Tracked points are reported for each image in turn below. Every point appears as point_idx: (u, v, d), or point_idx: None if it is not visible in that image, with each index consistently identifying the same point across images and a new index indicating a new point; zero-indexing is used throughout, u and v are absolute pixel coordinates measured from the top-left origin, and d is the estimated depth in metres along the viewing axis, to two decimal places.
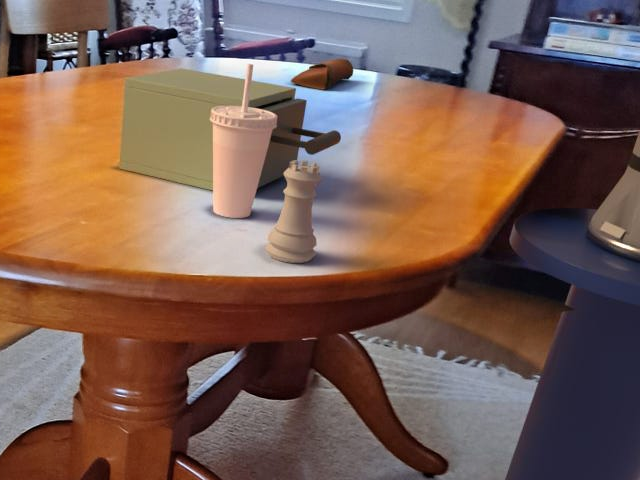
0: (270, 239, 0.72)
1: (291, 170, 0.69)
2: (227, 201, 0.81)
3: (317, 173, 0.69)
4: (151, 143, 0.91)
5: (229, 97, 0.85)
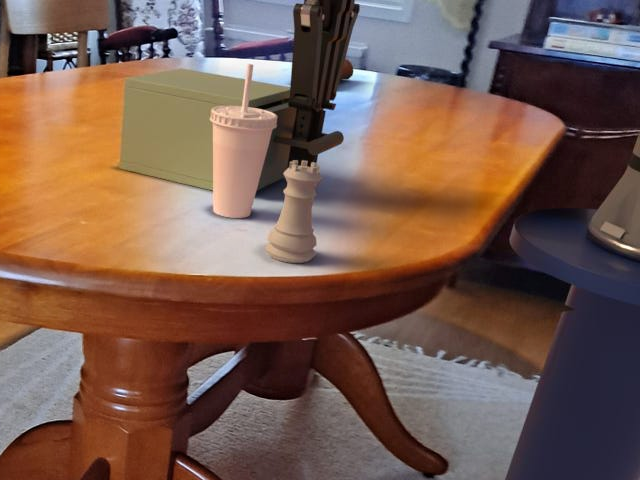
0: (270, 239, 0.72)
1: (291, 170, 0.69)
2: (227, 201, 0.81)
3: (317, 173, 0.69)
4: (151, 143, 0.91)
5: (229, 97, 0.85)
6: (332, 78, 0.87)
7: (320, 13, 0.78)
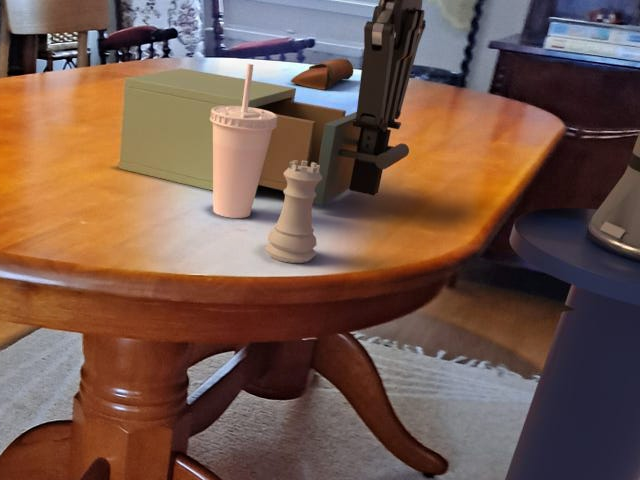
0: (270, 239, 0.72)
1: (291, 170, 0.69)
2: (227, 201, 0.81)
3: (317, 173, 0.69)
4: (151, 143, 0.91)
5: (229, 97, 0.85)
6: (398, 96, 0.84)
7: (393, 31, 0.76)
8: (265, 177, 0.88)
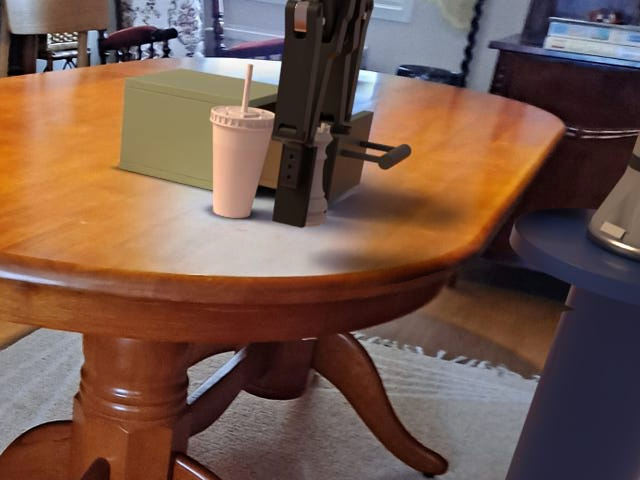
0: None
1: None
2: (227, 201, 0.81)
3: (328, 133, 0.68)
4: (151, 143, 0.91)
5: (229, 97, 0.85)
6: (344, 97, 0.69)
7: (321, 12, 0.59)
8: (267, 177, 0.88)
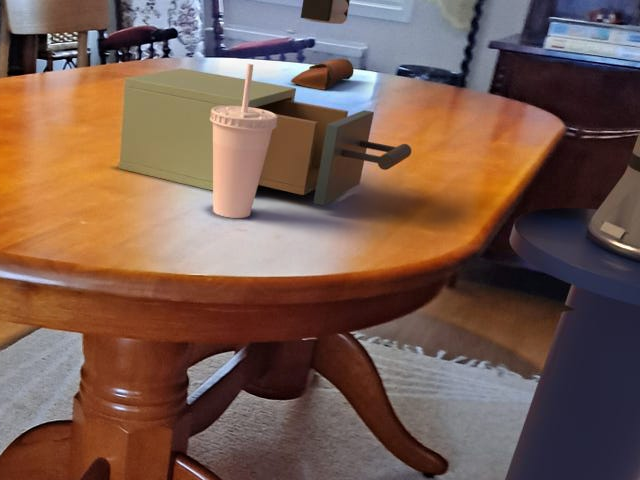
0: None
1: None
2: (227, 201, 0.81)
3: None
4: (151, 143, 0.91)
5: (229, 97, 0.85)
6: None
7: None
8: (267, 177, 0.88)
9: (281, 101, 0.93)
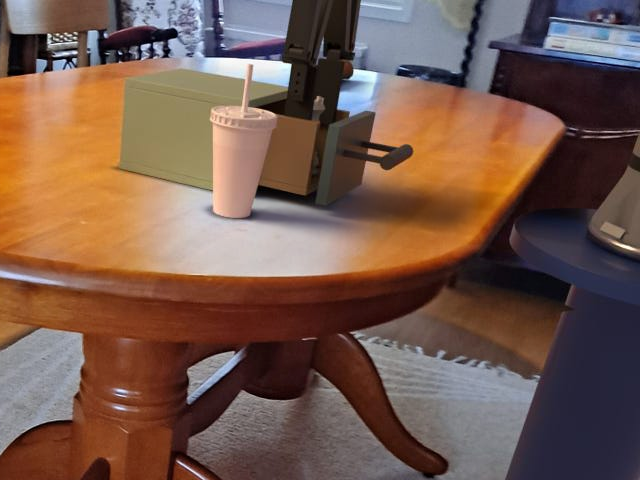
0: None
1: None
2: (227, 201, 0.81)
3: (321, 104, 0.87)
4: (151, 143, 0.91)
5: (229, 97, 0.85)
6: (348, 30, 0.87)
7: None
8: (269, 178, 0.88)
9: (283, 101, 0.93)
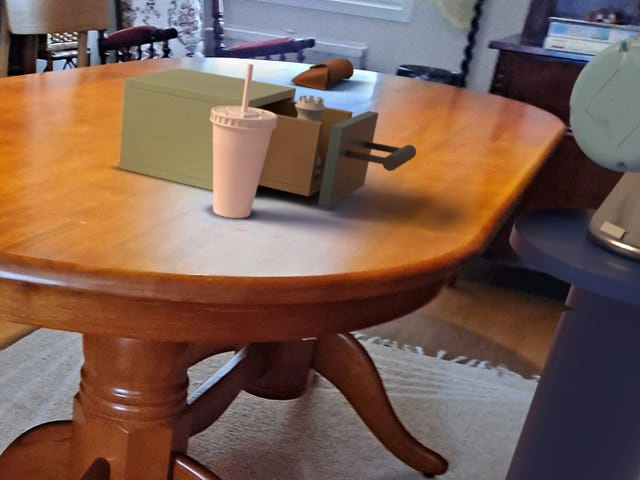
0: None
1: (301, 102, 0.87)
2: (227, 201, 0.81)
3: (322, 104, 0.87)
4: (151, 143, 0.91)
5: (229, 97, 0.85)
6: None
7: None
8: (272, 178, 0.87)
9: (285, 102, 0.93)
